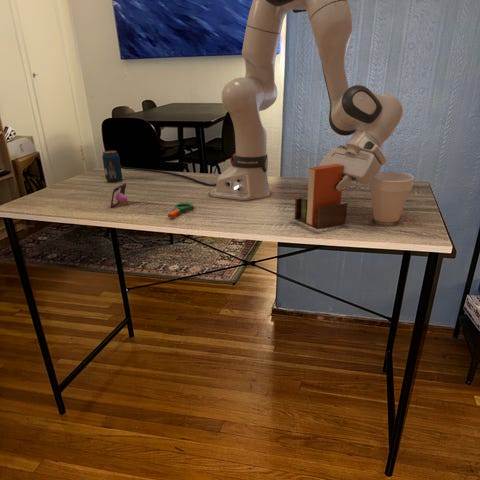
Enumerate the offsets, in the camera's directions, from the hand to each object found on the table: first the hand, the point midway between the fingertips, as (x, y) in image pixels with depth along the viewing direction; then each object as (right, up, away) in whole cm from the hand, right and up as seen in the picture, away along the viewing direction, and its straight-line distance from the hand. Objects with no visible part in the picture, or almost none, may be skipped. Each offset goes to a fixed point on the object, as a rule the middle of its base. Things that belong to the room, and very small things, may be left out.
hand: (331, 188), depth 132 cm
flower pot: (+18, -9, +6) cm, 21 cm away
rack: (-3, -9, +6) cm, 11 cm away
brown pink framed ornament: (-69, +3, +30) cm, 75 cm away
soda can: (-81, +21, +63) cm, 105 cm away
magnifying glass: (-47, -2, +19) cm, 51 cm away
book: (-2, -9, +4) cm, 10 cm away
